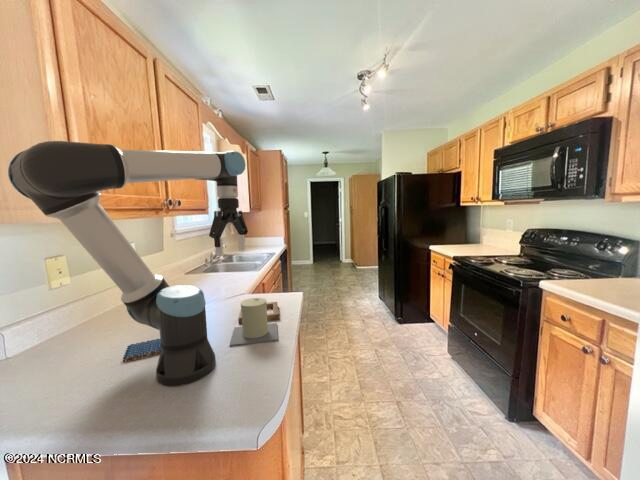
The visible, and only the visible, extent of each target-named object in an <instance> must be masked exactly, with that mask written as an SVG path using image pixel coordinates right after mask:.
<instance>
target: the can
mask: <svg viewBox="0 0 640 480" xmlns="http://www.w3.org/2000/svg"><path fill="white" fill-rule="evenodd" d="M266 303H268V302H267V299H265V298H263V297H254V298H253V297H251V298H247V299H244V300H243V301H241V302H240V311H241V313H242V323H241V324H242V325H241V327H242V330H243V332H242V335H243V336H244V337H246V338H258V337H262V336H264V335H266V334H267V333H268V325H267V324H268V321H267V314H268V312H267V311H268V309H267V305H266Z"/></svg>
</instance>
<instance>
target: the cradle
mask: <svg viewBox="0 0 640 480" xmlns="http://www.w3.org/2000/svg"><path fill="white" fill-rule="evenodd" d="M278 304H279V303H278V301H271V302H266V305H267V310H268V308H269V309H272V310H273V312H269V313H268V312H267V322H268V321H274V320H280V315H279V305H278ZM238 315H239V316H238V320H237V321H238V324H242V313H241V310H240V311H239V314H238Z"/></svg>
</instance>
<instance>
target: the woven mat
mask: <svg viewBox="0 0 640 480" xmlns="http://www.w3.org/2000/svg"><path fill="white" fill-rule="evenodd" d="M160 353H161V339H160V338H155V339H151V340H146V341H142V342H136V343H131V344H129V345H127V348H126V349H125V352H124V355H123V357H122V359H123V360H122V362H123V363H127V362H129V361H131V362H132V361H133V360H134V361H136V360H137V359H139V360H140V359H146V358H149V357H153V356H154V355H155V356H158V354H159V355H160Z"/></svg>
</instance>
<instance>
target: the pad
mask: <svg viewBox="0 0 640 480" xmlns="http://www.w3.org/2000/svg"><path fill="white" fill-rule="evenodd" d="M267 325H268V333H267V334H266V335H264V336H262V337H258V338H246V337H244V336H243V335H242V332H243V330H242V326H236V327H234V329H233V331H232V335H231V338H230V342H229V348H231V347H238V346H239V347H240V346H247V345H255V344H257V345H258V344H263V343H264V344H265V343H273V342H278V341H279V335H278V323H277V322H276V323H273V322H272V323H267Z"/></svg>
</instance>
